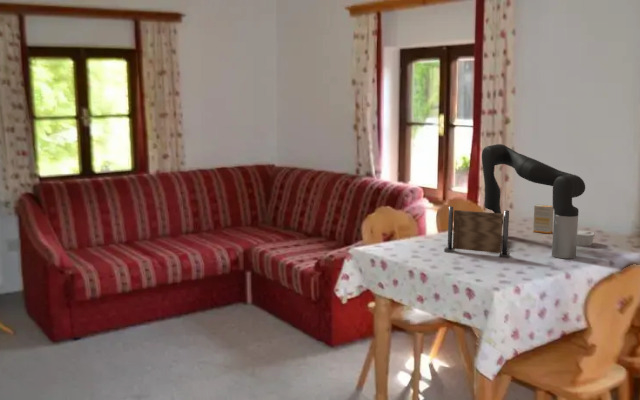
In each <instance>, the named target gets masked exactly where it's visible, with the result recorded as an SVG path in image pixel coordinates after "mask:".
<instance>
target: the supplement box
mask: <svg viewBox="0 0 640 400" xmlns="http://www.w3.org/2000/svg"><path fill="white" fill-rule="evenodd" d="M553 225H554V208H553V204H552V205H549V204H538V203H537V204H535V205H534V206H533V228H532V229H533V233H538V234H539V233H542V234H550V235H551V234H553Z"/></svg>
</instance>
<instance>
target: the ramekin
mask: <svg viewBox="0 0 640 400" xmlns="http://www.w3.org/2000/svg"><path fill="white" fill-rule="evenodd" d="M595 236H596V234H595V233H594V232H593V231H590V230H583V229H577V243H576V247H577V246H578V247H580V246H581V247H589V246H590V247H591V245H592V244H593V241H594V237H595Z"/></svg>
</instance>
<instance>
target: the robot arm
mask: <svg viewBox="0 0 640 400" xmlns="http://www.w3.org/2000/svg"><path fill="white" fill-rule="evenodd" d="M481 165H482V173H483V181H484V205H483V206H484V208H485V209H487V210H490V211H492V213H501V214H502V209H501V189H500V185H499V183H498V181H497V179H496V177H495V166H498V165H504V166H505V165H506V166H509V167H511V168H513V169H514V171H515V173H516V174H517V175H518V176H519V177H521V178H522V179H524V180H527V181H528V182H532V183H534V184H539V185H542V186H543V185H544V186H550V187H552V206H553V208H554V211H553V232H552V240H551V241H552V243H551V256H552V257H554V258H558V259H576V257H577V256H576V255H577V245H576V243H577V230H578V225H579V224H578V223H579V208H578V207H576V206H574V205H573V198H579V197H580V196H582V195H583V194H584V192H585V191H586V184H585V183H586V182H585V181H584V180H583V178H581V177H580V176H579V175H576V174H572V173H569V172H565V171H562V170H560V169H557V168H555V167H553V166H550V165H549V164H547V163H544V162H541V161H539V160H537V159H535V158H532V157H529V156H527V155H524V154H522V153H519V152H517V151H515V150H513V149H512V148H510V147H509V146H507V145H505V144H501V143H497V144H493V145H487V146H485V147H484V148H483V149H482V151H481ZM503 223H504V218H503V219H502V226H503Z"/></svg>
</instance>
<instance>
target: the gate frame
mask: <svg viewBox="0 0 640 400" xmlns="http://www.w3.org/2000/svg"><path fill="white" fill-rule="evenodd" d="M447 220H448V222H447V224H448V225H447V246H446V247H445V248H444V251H443V252H444V253H452V254H453V253H455V251H456V249H453V227H454V206H448V219H447ZM509 222H510V210H507V209H506V210H503V225H502V243H501V253H498V254H499V255H498V257H499V258H501V259H502V258H503V259H504V258H505V259H509V258H510V257H511V256H510V252H508V244H509V242H508V241H509V224H510V223H509Z"/></svg>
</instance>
